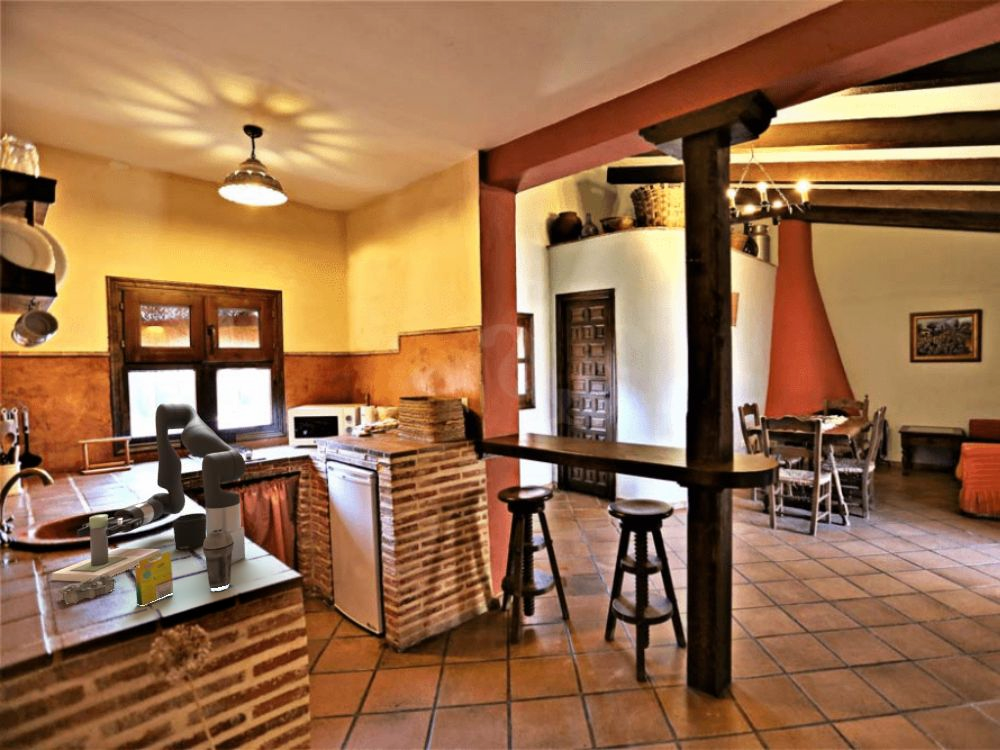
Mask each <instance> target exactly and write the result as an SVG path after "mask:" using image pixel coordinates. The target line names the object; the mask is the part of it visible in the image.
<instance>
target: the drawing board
mask: <svg viewBox="0 0 1000 750" xmlns="http://www.w3.org/2000/svg"><path fill="white" fill-rule="evenodd" d="M159 554H161V549H159V548H137V547H136V548H133V547H131V548H130V547H116V548H114V549H111V550H108V563H106V564H104V565H100V566H91V557H90V558H87V559H85V560H81V561H80V562H76V563H74V564H72V565H70V566H67V567H64V568H61V569H59V570H56V571H54V572H51V579H52V581H64V582H65V581H67V582H82V581H87V580H89V579H90V578H91V579H95V578H97V577H100V576H103V575H105V574H107V573H109V574H110V575H111V576H113V577H115V576H117V575H120V574H121V572H122V573H124V572H126V570H127V571H129V570H131V569H134V568H135V566H137V565H138V566H139V564H140V562H139V561H141V560H144V559H147V558H150V557H153V556H156V555H159ZM128 569H129V570H128ZM119 573H120V574H119ZM116 574H117V575H116ZM114 575H115V576H114Z"/></svg>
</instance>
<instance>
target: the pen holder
mask: <svg viewBox="0 0 1000 750" xmlns="http://www.w3.org/2000/svg"><path fill="white" fill-rule="evenodd" d="M172 525H173V536H174V546H175V547H174V548H175V550H176V551H177V550H178V552H190V550H191V551H196V550H198V548H199V549H201V548H203V543H204V540H205V538H206V537H207V530H206V513H202V512H201V513H199V512H198V513H197V512H196V513H188V514H183V515H181V516H179V517H178V518H176V519H175V520H173V521H172Z"/></svg>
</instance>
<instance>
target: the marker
mask: <svg viewBox="0 0 1000 750" xmlns="http://www.w3.org/2000/svg"><path fill="white" fill-rule="evenodd" d="M108 517H109V514H105V513H104V514H95V515H92V516H90V517H89V523H90V534H89V535H90V536H89V537H90V538H89V539H90V540H89V542H90V558H91V566H100V565H104V564H106V563H108V551H109V547H108V546H109V541H108V540H109V539H108V538H109V536H106V529H108V527H107V526H108Z"/></svg>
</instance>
